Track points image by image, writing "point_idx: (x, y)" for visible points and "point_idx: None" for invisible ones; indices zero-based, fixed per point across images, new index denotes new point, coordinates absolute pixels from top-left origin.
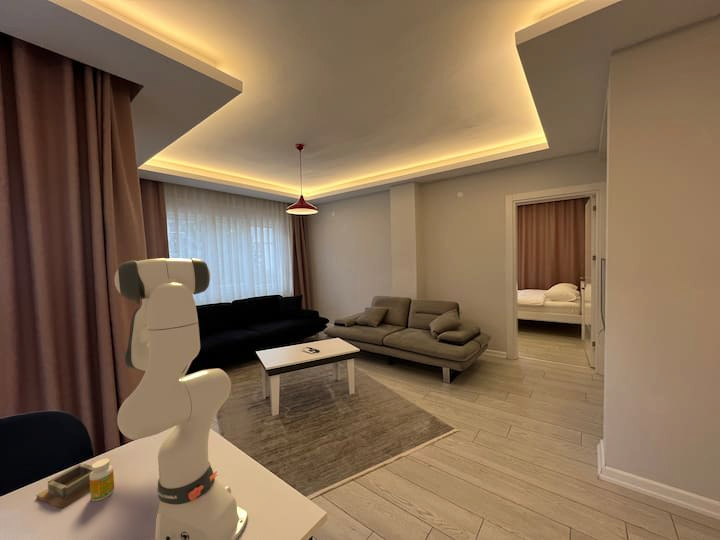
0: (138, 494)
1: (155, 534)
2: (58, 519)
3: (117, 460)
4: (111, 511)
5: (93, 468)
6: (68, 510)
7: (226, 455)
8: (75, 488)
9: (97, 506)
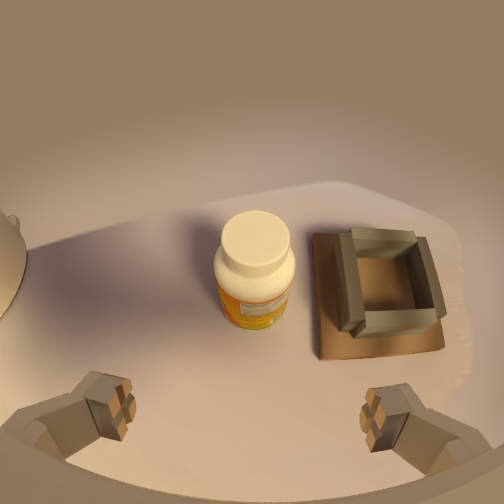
0: (131, 328)
1: (3, 213)
2: None
3: None
4: (157, 265)
5: (252, 211)
6: None
7: None
8: (337, 261)
9: None
